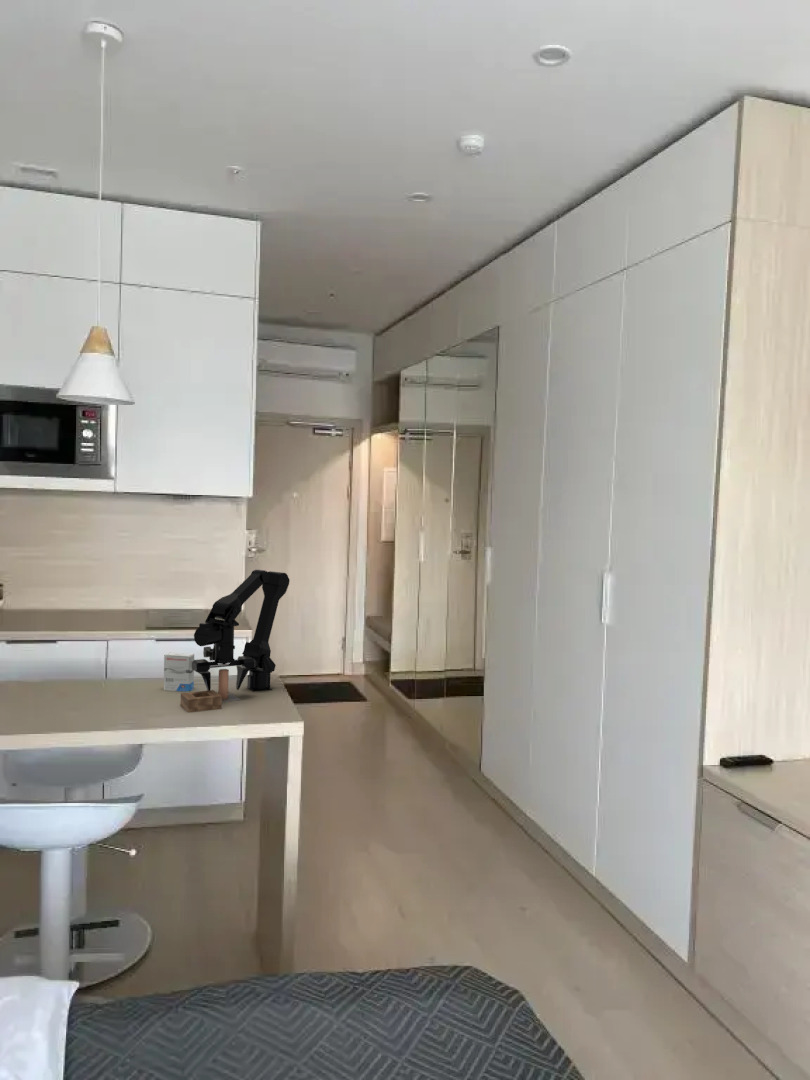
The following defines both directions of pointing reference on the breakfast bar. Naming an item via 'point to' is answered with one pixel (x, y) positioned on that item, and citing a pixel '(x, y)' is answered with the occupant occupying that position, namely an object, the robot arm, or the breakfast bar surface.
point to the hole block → (201, 701)
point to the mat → (231, 698)
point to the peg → (223, 683)
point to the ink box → (178, 672)
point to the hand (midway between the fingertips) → (223, 691)
